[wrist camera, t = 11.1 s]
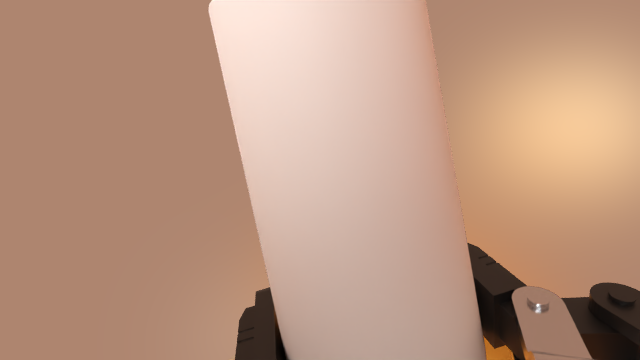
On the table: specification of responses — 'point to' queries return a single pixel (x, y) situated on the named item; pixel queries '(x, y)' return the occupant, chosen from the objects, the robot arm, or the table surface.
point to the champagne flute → (350, 177)
